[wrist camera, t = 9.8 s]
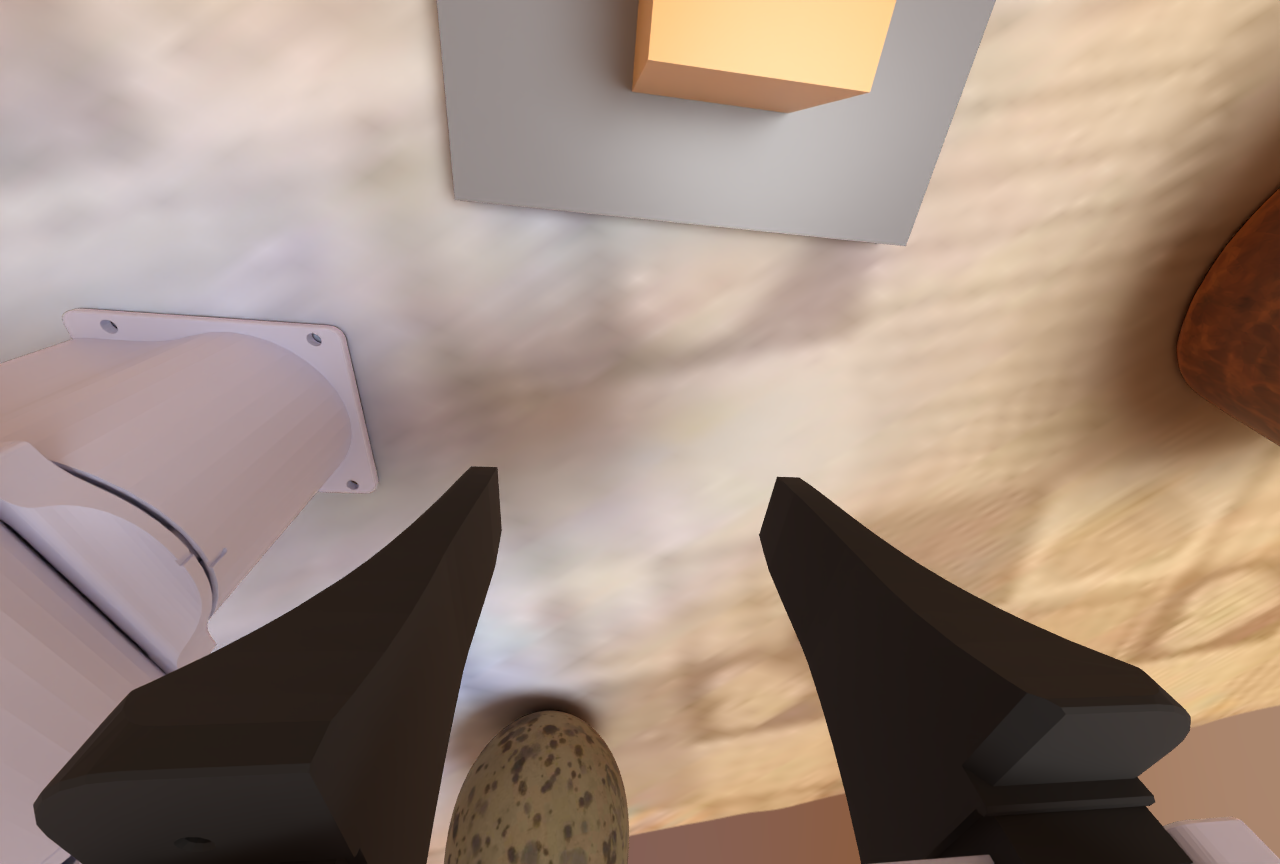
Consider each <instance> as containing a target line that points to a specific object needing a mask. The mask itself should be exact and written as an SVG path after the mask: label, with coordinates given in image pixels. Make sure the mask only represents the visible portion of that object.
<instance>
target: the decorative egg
mask: <svg viewBox="0 0 1280 864" xmlns="http://www.w3.org/2000/svg"><path fill="white" fill-rule="evenodd" d="M628 849H629V821H628V808H627V800H626V794H625V789H624V785H623V781H622V778H621V774H620V771H619V768H618V766H617V763H616V761H615V759H614V757H613V755H612V753H611V751H610V750H609V748H608V746H607V745H606V743H605V742H604V740H603V739H602V738H601V737H600V735H599V734H598V733H597V732H596V731H595V730H594V729H593V728H592V727H591V726H590V725H589V724H587V723H586V722H584V721H583V720H581V719H580V718H578V717H576V716H574V715H571V714H568V713H565V712H561V711H540V712H535V713H532V714H529V715H526V716H524V717H522V718H520V719H518V720H516V721H515V722H513V723H511V724H510V725H508V726H507V727H506V728H504V729H503V730H502V731H501V732H500V733H499V734H498V735H496V736H495V737H494V738H493V739H492V741H491V742H490V743H489V744H488V745H487V746H486V747H485V748H484V750H483V751H482V752H481V754H480V755H479V757H478V758H477V760H476V761H475V763H474V764H473V766H472V768H471V769H470V771H469V773H468V775H467V777H466V779H465V781H464V783H463V785H462V788H461V790H460V793H459V795H458V798H457V801H456V804H455V807H454V810H453V814H452V818H451V822H450V826H449V831H448V837H447V843H446V849H445V858H444V864H627V861H628Z"/></svg>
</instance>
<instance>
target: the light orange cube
mask: <svg viewBox="0 0 1280 864" xmlns="http://www.w3.org/2000/svg"><path fill="white" fill-rule="evenodd" d="M895 3H896V0H639V3H638V16H637V29H636V43H635V56H634V70H633V83H632V92H638V93H645V94H652V95H659V96H667V97H674V98H681V99H689V100H696V101H703V102H710V103H718V104H725V105H732V106H740V107H747V108H754V109H761V110H769V111H776V112H783V113H792V112H795V111H799V110H803V109H807V108H811V107H815V106H819V105H823V104H827V103H830V102H834V101H838V100H842V99H846V98H850V97H854V96H858V95H862V94H866V93H869V92H870V91H871V87H872V84H873V80H874V77H875V73H876V70H877V66H878V63H879V59H880V56H881V52H882V49H883V45H884V42H885V38H886V35H887V31H888V28H889V24H890V21H891V17H892V14H893V10H894V7H895Z"/></svg>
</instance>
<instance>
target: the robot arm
mask: <svg viewBox="0 0 1280 864" xmlns="http://www.w3.org/2000/svg"><path fill="white" fill-rule="evenodd" d="M62 320H63V323H64V325H65V327H66V329H67V331H68V332H69V334H70V336H71V338H72V340H69V341H66V342H63V343H60V344H57V345H54V346H51V347H48V348H45V349H42V350H39V351H36V352H33V353H30V354H27V355H24V356H21V357H18V358H15V359H12V360H9V361H6V362H3V363H0V864H426V863H427V857H428V851H429V845H430V840H431V834H432V828H433V822H434V817H435V811H436V806H437V800H438V795H439V789H440V784H441V779H442V773H443V768H444V762H445V757H446V752H447V747H448V742H449V737H450V732H451V727H452V722H453V717H454V712H455V708H456V703H457V698H458V693H459V689H460V684H461V679H462V674H463V670H464V666H465V663H466V659H467V655H468V652H469V648H470V645H471V642H472V639H473V636H474V633H475V629H476V626H477V623H478V620H479V617H480V614H481V610H482V607H483V604H484V601H485V598H486V595H487V591H488V588H489V585H490V582H491V578H492V575H493V572H494V569H495V564H496V559H497V554H498V548H499V542H500V537H501V531H502V529H501V514H500V499H499V484H498V469H497V467H471V468H469V469H468V470H467V471H466V472H465V473H464V474H463V475H462V476H461V477H460V478H459V479H458V480H457V481H456V482H455V483H454V484H453V485H452V486H451V487H450V488H449V489H448V490H447V491H446V492H445V493H444V494H443V495H442V496H441V497H440V498H439V499H438V500H437V501H436V502H435V503H434V504H433V505H432V506H431V507H430V508H429V509H428V510H427V511H426V512H425V513H423V514H422V515H421V516H420V517H419V518H418V519H417V520H416V521H415V522H414V523H413V524H411V525H410V526H409V527H408V528H407V529H406V530H404V531H403V532H402V533H401V534H400V535H399V536H397V537H396V538H395V539H394V540H393V541H391V542H390V543H389V544H388V545H387V546H386V547H384V548H383V549H382V550H380V551H379V552H378V553H377V554H375V555H374V556H373V557H371V558H370V559H369V560H368V561H366V562H365V563H363V564H362V565H361V566H359V567H358V568H356V569H355V570H354V571H352V572H351V573H349V574H348V575H346V576H345V577H344V578H342V579H341V580H339V581H338V582H336V583H334V584H333V585H331V586H330V587H328V588H326V589H325V590H323V591H322V592H320V593H318V594H317V595H315V596H314V597H312V598H310V599H309V600H307V601H306V602H304V603H302V604H301V605H299V606H298V607H296V608H294V609H293V610H291V611H289V612H288V613H286V614H284V615H282V616H280V617H279V618H277V619H275V620H273V621H272V622H270V623H268V624H266V625H264V626H263V627H261V628H259V629H257V630H255V631H253V632H251V633H250V634H248V635H246V636H244V637H242V638H240V639H238V640H236V641H235V642H233V643H231V644H229V645H227V646H225V647H223V648H221V649H219V650H217V651H215V652H213V653H211V651H212V650H213V649H214V648H215V646H216V643H215V641H214V640H213V639H212V637H211V636H210V634H209V632H208V628H207V623H208V620H209V619H210V618H211V617H212V615H213V614H214V613H215V612H216V611H217V610H218V608H219V607H220V606H221V605H222V604H223V602H224V601H225V600H226V599H227V598H228V597H229V595H230V594H231V593H232V592H233V591H234V589H235V588H236V587H237V586H238V585H239V584H240V582H241V581H242V580H243V579H244V578H245V576H246V575H247V574H248V573H249V572H250V571H251V569H252V568H253V567H254V566H255V565H256V563H257V562H258V561H259V560H260V559H261V558H262V556H263V555H264V554H265V553H266V552H267V550H268V549H269V548H270V547H271V546H272V545H273V543H274V542H275V541H276V540H277V539H278V537H279V536H280V535H281V534H282V533H283V532H284V530H285V529H286V528H287V527H288V526H289V524H290V523H291V522H292V521H293V520H294V519H295V517H296V516H297V515H298V514H299V513H300V511H301V510H302V509H303V508H304V507H305V506H306V504H307V503H308V502H309V501H310V500H311V498H312V497H313V496H314V495H315V494H316V493H317V492H335V493H371V492H373V491H374V490H375V489H376V487H377V486H378V482H379V481H378V477H377V472H376V468H375V464H374V459H373V455H372V451H371V446H370V442H369V437H368V433H367V429H366V424H365V420H364V416H363V411H362V407H361V402H360V398H359V394H358V389H357V385H356V381H355V376H354V372H353V367H352V363H351V359H350V354H349V350H348V346H347V341H346V338H345V335H344V334H343V333H342V331H341V330H340V329H338V328H336V327H334V326H330V325H316V324H301V323H286V322H272V321H257V320H242V319H228V318H213V317H198V316H184V315H169V314H154V313H140V312H125V311H110V310H95V309H81V308H80V309H73V310H70V311H67V312H65V313H64V314H63V317H62ZM110 321H111V322H113V323H114V324H115V325H116V326H117V328H118V329H116V328H115V327H113V325H112V324H111V322H110ZM312 333H314V334H317V335H318V336H319V337H320V338H321V340H322V342H321V343H319V342H317V341H315V340H314V339H313V337H312ZM351 480H352V481H355V482H357V483H358V485H357V484H354V483H352V482H351ZM759 536H760V540H761V544H762V548H763V552H764V555H765V559H766V562H767V566H768V569H769V572H770V574H771V577H772V579H773V581H774V584H775V586H776V588H777V591H778V593H779V596H780V598H781V600H782V603H783V605H784V607H785V609H786V612H787V614H788V616H789V619H790V621H791V623H792V626H793V628H794V630H795V633H796V635H797V637H798V639H799V642H800V644H801V646H802V649H803V652H804V654H805V657H806V659H807V662H808V665H809V668H810V671H811V674H812V677H813V680H814V683H815V686H816V690H817V693H818V696H819V699H820V702H821V706H822V709H823V712H824V716H825V719H826V723H827V726H828V730H829V733H830V737H831V740H832V744H833V747H834V751H835V755H836V759H837V763H838V767H839V770H840V774H841V778H842V782H843V786H844V790H845V794H846V797H847V801H848V806H849V811H850V815H851V819H852V824H853V828H854V832H855V837H856V842H857V846H858V850H859V855H860V860H861V864H1280V859H1279V858H1278V857H1277V856H1276V855H1275V854H1274V853H1273V852H1272V851H1271V850H1270V849H1269V848H1268V847H1267V846H1266V845H1265V844H1264V843H1263V842H1262V841H1261V840H1260V839H1259V838H1258V837H1257V836H1256V834H1255V833H1253V831H1251V830H1250V828H1249V827H1248V826H1247V825H1246V824H1244V822H1243V821H1242V820H1240V819H1237V818H1234V817H1221V818H1206V819H1193V820H1184V821H1177V822H1174V823H1171V824H1168V825H1165V826H1162V825H1161V824H1160V823H1159V821H1158V820H1157V819H1156V818H1155V817H1154V816H1153V814H1152V813H1151V812H1150V811H1149V810H1148V808H1147V807H1146V806H1150V805H1152V804H1153V803H1155V800H1154V796H1153V795H1152V793H1151V792H1150V791H1149V790H1148V789H1147V788H1146V787H1145V785H1144V784H1143V783H1142V782H1141V781H1140V780H1139V779H1138V776H1139V775H1140V774H1142V773H1143V772H1144V771H1146V770H1147V769H1148V768H1150V767H1151V766H1152V765H1153V764H1155V763H1156V762H1157V761H1159V760H1160V759H1161V758H1163V757H1164V756H1165V755H1166V754H1168V753H1169V752H1171V751H1172V750H1173V749H1174V748H1175V747H1176V746H1178V745H1179V744H1180V743H1181V742H1182V741H1183V740H1184V738H1185V737H1186V736H1187V734H1188V733H1189V731H1190V723H1191V718H1190V715H1189V714H1188V713H1187V711H1186V710H1185V709H1184V708H1183V707H1182V706H1181V705H1180V704H1179V703H1178V702H1177V701H1175V700H1174V699H1173V698H1172V697H1171V696H1170V695H1169V694H1168V693H1167V692H1166V691H1165V690H1164V689H1163V688H1161V687H1160V686H1159V685H1158V684H1157V683H1156V682H1155V681H1154V680H1153V679H1152V678H1151V677H1150V676H1149V675H1147V674H1146V673H1145V672H1144V671H1143V670H1141V669H1140V668H1138V667H1135V666H1133V665H1130V664H1128V663H1125V662H1123V661H1120V660H1118V659H1115V658H1113V657H1110V656H1107V655H1105V654H1102V653H1100V652H1097V651H1095V650H1092V649H1090V648H1087V647H1085V646H1082V645H1079V644H1077V643H1074V642H1072V641H1069V640H1067V639H1065V638H1062V637H1060V636H1058V635H1056V634H1053V633H1051V632H1049V631H1047V630H1044V629H1042V628H1040V627H1038V626H1035V625H1033V624H1031V623H1029V622H1026V621H1024V620H1022V619H1020V618H1018V617H1016V616H1014V615H1012V614H1010V613H1008V612H1005V611H1003V610H1001V609H999V608H997V607H995V606H993V605H992V604H990V603H988V602H986V601H984V600H982V599H980V598H978V597H976V596H974V595H972V594H970V593H968V592H967V591H965V590H963V589H961V588H959V587H957V586H956V585H954V584H952V583H950V582H949V581H947V580H945V579H943V578H942V577H940V576H938V575H937V574H935V573H933V572H932V571H930V570H928V569H927V568H925V567H923V566H922V565H920V564H919V563H917V562H915V561H914V560H912V559H911V558H909V557H908V556H906V555H905V554H903V553H902V552H900V551H899V550H897V549H896V548H894V547H893V546H891V545H890V544H888V543H887V542H886V541H884V540H883V539H881V538H880V537H878V536H877V535H876V534H874V533H873V532H872V531H870V530H869V529H867V528H866V527H865V526H863V525H862V524H861V523H859V522H858V521H857V520H855V519H854V518H853V517H851V516H850V515H849V514H847V513H846V512H845V511H844V510H842V509H841V508H840V507H838V506H837V505H836V504H834V503H833V502H832V501H831V500H829V499H828V498H827V497H825V496H824V495H823V494H821V493H820V492H819V491H817V490H816V489H815V488H813V487H812V486H811V485H809V484H808V483H806V482H805V481H803V480H802V479H800V478H795V477H777V479H776V482H775V485H774V489H773V492H772V495H771V498H770V502H769V505H768V508H767V511H766V515H765V518H764V521H763V524H762V528H761V531H760V534H759ZM210 653H211V654H210Z"/></svg>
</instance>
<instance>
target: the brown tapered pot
mask: <svg viewBox="0 0 1280 864" xmlns="http://www.w3.org/2000/svg"><path fill="white" fill-rule="evenodd" d="M1177 357H1178V365H1179V369H1180V371H1181V373H1182V375H1183V378H1184V379H1185V381H1186V383H1187V384H1188V385H1189V386H1190V387H1191V389H1193V390H1194V391H1195V392H1196V393H1198V394H1199V395H1200V396H1202V397H1203V398H1204V399H1206V400H1207V401H1209V402H1210V403H1212V404H1213V405H1215V406H1216V407H1218V408H1219V409H1221V410H1222V411H1224V412H1226V413H1227V414H1229V415H1230V416H1232V417H1234V418H1235V419H1237V420H1239V421H1240V422H1242V423H1243V424H1245V425H1247V426H1248V427H1250V428H1251V429H1253V430H1255V431H1256V432H1258V433H1259V434H1261V435H1263V436H1264V437H1266V438H1268V439H1269V440H1271V441H1272V442H1274V443H1276V444H1277V445H1279V446H1280V189H1278V190H1277V191H1276V192H1275V193H1274V194H1273V195H1272V196H1271V197H1270V198H1269V199H1268V200H1267V201H1266V202H1265V203H1264V204H1263V205H1262V206H1261V207H1260V208H1259V209H1258V210H1257V211H1256V212H1255V213H1254V214H1253V215H1252V216H1251V218H1250V219H1249V220H1248V221H1247V222H1246V223H1245V224H1244V225H1243V227H1242V228H1241V229H1240V230H1239V231H1238V232H1237V234H1236V235H1235V236H1234V237H1233V238H1232V240H1231V241H1230V242H1229V243H1228V244H1227V246H1226V247H1225V248H1224V250H1223V251H1222V253H1221V254H1220V255H1219V257H1218V258H1217V260H1216V261H1215V263H1214V264H1213V265H1212V267H1211V268H1210V270H1209V272H1208V273H1207V275H1206V277H1205V279H1204V281H1203V282H1202V284H1201V285H1200V287H1199V288H1198V290H1197V292H1196V294H1195V296H1194V298H1193V300H1192V302H1191V304H1190V307H1189V309H1188V312H1187V314H1186V317H1185V319H1184V322H1183V325H1182V328H1181V331H1180V335H1179V338H1178V343H1177Z"/></svg>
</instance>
